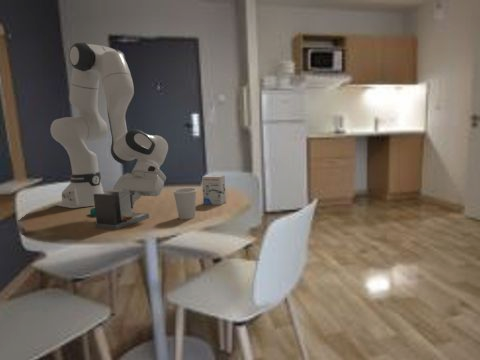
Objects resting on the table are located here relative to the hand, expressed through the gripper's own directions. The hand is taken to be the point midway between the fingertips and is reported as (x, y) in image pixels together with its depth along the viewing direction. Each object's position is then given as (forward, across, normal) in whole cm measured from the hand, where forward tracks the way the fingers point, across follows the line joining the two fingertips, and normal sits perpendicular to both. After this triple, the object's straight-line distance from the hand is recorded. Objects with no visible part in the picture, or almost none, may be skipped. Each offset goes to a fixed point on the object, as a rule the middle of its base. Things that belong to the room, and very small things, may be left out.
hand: (128, 203), depth 130 cm
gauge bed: (+7, 0, +2) cm, 7 cm away
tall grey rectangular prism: (+6, +1, 0) cm, 6 cm away
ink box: (-18, +17, +26) cm, 36 cm away
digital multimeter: (-1, -18, +10) cm, 20 cm away
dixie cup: (-2, +19, +10) cm, 22 cm away
